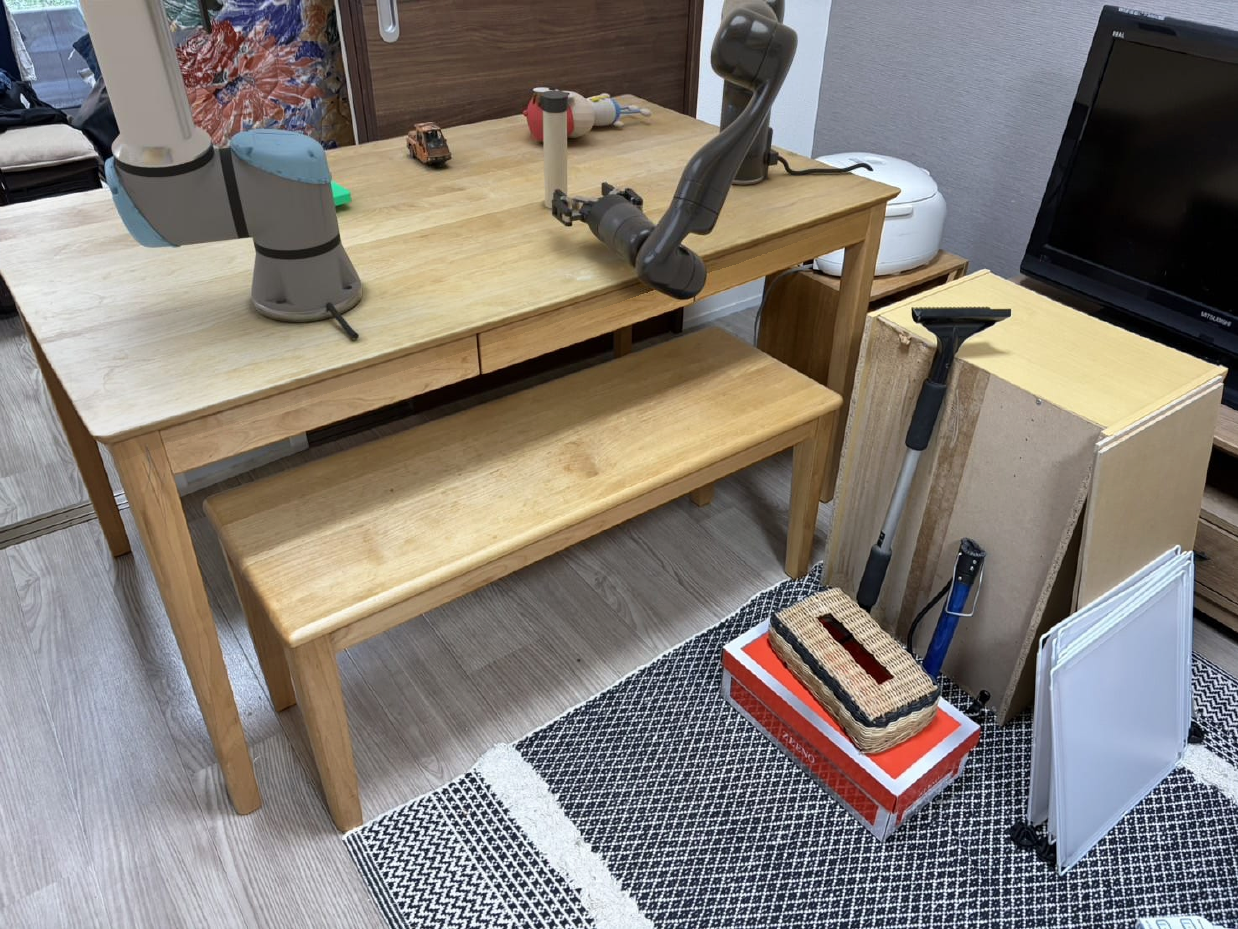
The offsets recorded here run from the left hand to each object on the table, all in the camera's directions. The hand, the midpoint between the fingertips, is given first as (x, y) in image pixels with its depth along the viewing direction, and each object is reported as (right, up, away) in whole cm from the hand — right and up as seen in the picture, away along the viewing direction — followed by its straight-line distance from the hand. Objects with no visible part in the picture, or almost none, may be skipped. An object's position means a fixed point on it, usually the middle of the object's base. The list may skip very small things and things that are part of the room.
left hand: (164, 36), depth 147 cm
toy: (+65, +4, +54) cm, 85 cm away
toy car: (+35, -8, +36) cm, 51 cm away
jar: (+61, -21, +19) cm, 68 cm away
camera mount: (+19, -22, +17) cm, 34 cm away
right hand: (+66, -22, +8) cm, 70 cm away
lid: (+61, -6, +8) cm, 62 cm away
